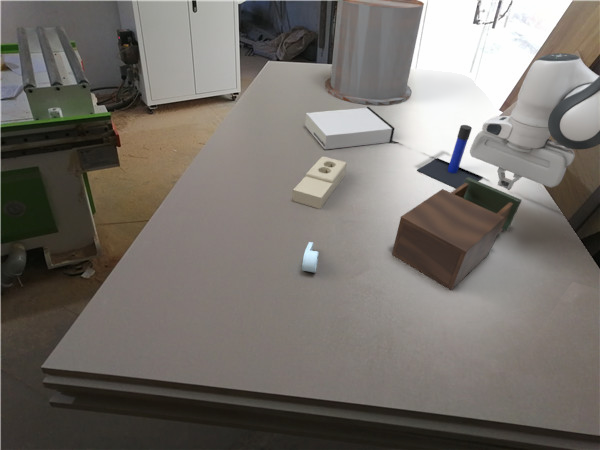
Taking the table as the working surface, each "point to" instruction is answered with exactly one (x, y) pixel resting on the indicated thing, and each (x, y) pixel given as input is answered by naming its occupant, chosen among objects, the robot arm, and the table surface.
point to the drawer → (490, 200)
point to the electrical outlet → (320, 182)
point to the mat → (447, 173)
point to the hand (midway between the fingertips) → (504, 186)
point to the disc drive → (348, 128)
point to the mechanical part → (310, 259)
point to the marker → (459, 148)
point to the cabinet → (446, 237)
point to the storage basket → (374, 50)
